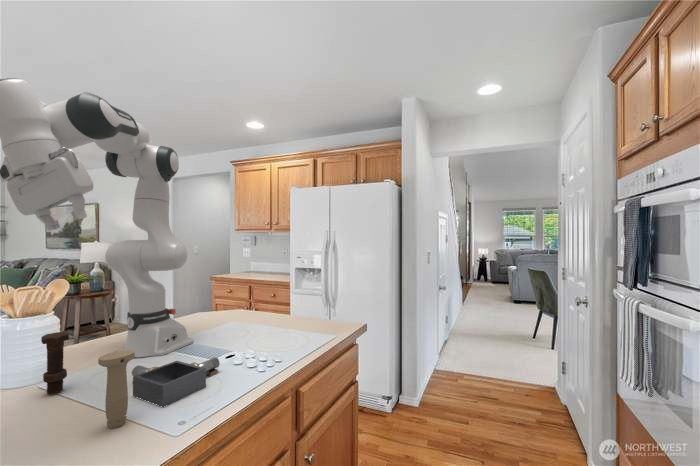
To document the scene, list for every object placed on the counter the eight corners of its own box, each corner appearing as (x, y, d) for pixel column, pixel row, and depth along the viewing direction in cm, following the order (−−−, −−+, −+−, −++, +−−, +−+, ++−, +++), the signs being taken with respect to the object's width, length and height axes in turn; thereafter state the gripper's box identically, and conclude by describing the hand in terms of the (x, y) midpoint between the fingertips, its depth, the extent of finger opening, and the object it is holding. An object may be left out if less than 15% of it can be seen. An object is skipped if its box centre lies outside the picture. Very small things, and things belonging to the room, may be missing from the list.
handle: (94, 428, 70) (94, 357, 70) (127, 414, 75) (127, 348, 75) (104, 436, 67) (104, 361, 67) (138, 421, 73) (138, 352, 73)
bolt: (50, 399, 83) (51, 338, 83) (34, 397, 84) (34, 337, 84) (74, 388, 88) (74, 331, 88) (59, 386, 89) (59, 330, 89)
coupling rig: (183, 362, 106) (183, 347, 106) (230, 375, 97) (230, 357, 97) (113, 389, 88) (113, 370, 88) (162, 407, 78) (162, 386, 78)
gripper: (86, 144, 67) (113, 209, 69) (29, 173, 75) (56, 231, 77) (50, 143, 62) (82, 214, 64) (-7, 176, 69) (23, 238, 71)
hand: (67, 224), depth 70 cm, fingers open, 8 cm apart
